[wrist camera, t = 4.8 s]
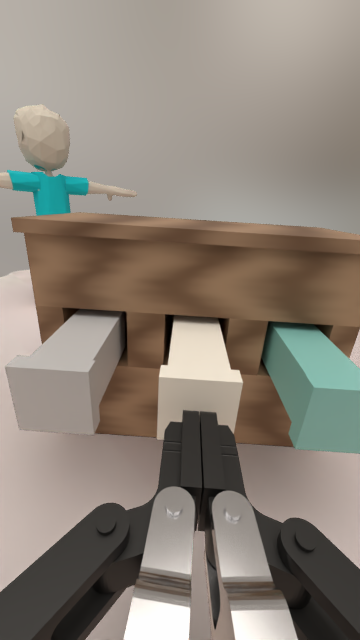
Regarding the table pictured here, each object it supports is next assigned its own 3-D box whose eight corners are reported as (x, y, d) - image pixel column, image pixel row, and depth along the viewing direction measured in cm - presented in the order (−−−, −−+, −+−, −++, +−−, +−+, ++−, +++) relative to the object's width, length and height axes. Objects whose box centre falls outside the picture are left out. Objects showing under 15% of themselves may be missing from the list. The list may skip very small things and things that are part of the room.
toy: (123, 285, 63) (120, 133, 51) (143, 296, 56) (144, 124, 44) (-41, 306, 46) (-103, 85, 34) (-41, 327, 39) (-119, 59, 27)
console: (48, 433, 22) (11, 217, 16) (91, 363, 32) (79, 212, 26) (324, 452, 22) (402, 242, 16) (282, 376, 32) (319, 227, 26)
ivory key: (156, 439, 14) (158, 376, 12) (168, 352, 22) (171, 308, 20) (231, 444, 14) (243, 382, 12) (216, 355, 22) (221, 311, 20)
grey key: (19, 430, 14) (4, 366, 12) (82, 346, 22) (78, 302, 20) (93, 435, 14) (88, 372, 12) (129, 349, 22) (128, 305, 20)
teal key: (295, 449, 14) (314, 387, 12) (255, 358, 22) (264, 314, 20) (370, 454, 14) (398, 393, 12) (303, 361, 22) (315, 317, 20)
